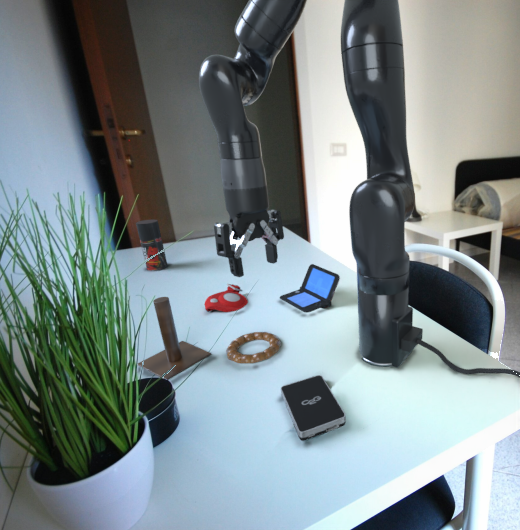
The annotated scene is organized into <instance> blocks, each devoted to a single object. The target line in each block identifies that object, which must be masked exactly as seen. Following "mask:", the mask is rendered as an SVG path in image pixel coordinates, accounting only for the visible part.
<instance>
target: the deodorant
mask: <svg viewBox="0 0 520 530" xmlns="http://www.w3.org/2000/svg"><path fill="white" fill-rule="evenodd" d="M135 226H136V229H137V233H138V238H139V242H140V246H141V250H142V255H143V258H144V261H145V260H146V259H148V258H150V257H151V256H153V255H155V254H157V253H158V252H160V251H161V250H163V249H164V250H165V248H164V244H163V239H162V235H161V233H162V232H161V229H160V225H159V221H158V219H143V220H138V221H137V222H135ZM145 266H146V270H147V271H159V270H163V269H166V268H168V261H167V256H166V252H165V251H164V252H162V253H160V254H158V255H156V256H155V257H153V258H152V259H150V260H149V261H147V262H146V263H145Z"/></svg>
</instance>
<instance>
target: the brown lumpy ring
mask: <svg viewBox="0 0 520 530" xmlns="http://www.w3.org/2000/svg"><path fill="white" fill-rule="evenodd" d="M252 341H265V342H268V343H269V346H268V347H267V348H266V349H264V350H262V351H259V352H256V353H251V354H250V353H246V354H244V353H241V352H239V349H240V347H241V346H243V345H245V344H246V343H249V342H252ZM281 346H282V342H281V340H280V338H279V337H278V336H277V335H276V334H274V333H271V332H268V331H253V332H249V333H246V334H242V335H240V336H238V337H237V338H235V339H233V340H232V341H231V342H230V344H229V345H228V346H227V348H226V350H225V352H226V356H227V359H228V360H230V361H232V362H234V363H236V364H256V363H259V362H262V361H265V360H268V359H270V358H271V357H274V355H276V354H277V353H278V352H279V350H280V349H281Z"/></svg>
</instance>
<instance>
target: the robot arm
mask: <svg viewBox="0 0 520 530" xmlns="http://www.w3.org/2000/svg"><path fill="white" fill-rule="evenodd" d="M307 2H308V0H248V1H247V3H246V5H245V7H244V8H243V10H242V12H241V13H240V15H239V17H238V19H237V21H236V23H235V26H234V29H233V30H234V32H233V33H234V36H235V38H236V40H237V42H238V43H239V45H238V48H237V51H236V53H235V56H234V57H233V58H232V57H231V56H226V55H223V54H211V55H209V56H207V57H205V59H203V61H202V63H201V64H200V67H199V71H198V86H199V87H198V88H199V92H200V96H201V99H202V101H203V104H204V106H205V108H206V111H207V115H208V116H209V120H210V122H211V124H212V126H213V129H214V132H215V133H216V141H217V147H218V155H219V162H220V178H221V183H222V185H221V186H222V190H223V198H224V203H225V209H226V212H227V214H228V217H229V218H228V221H227V222H215V223H214V224H213V231H214V239H215V246H216V255H217V256H218V257H222V258H227V259H228V264H229V270H230V273H231V275H233V277H237V278H242V277H244V275H245V273H244V266H243V259H242V257H241V255H242V253H243V250H244V248H246V247H247V246H248V243H249V242H252V241H254V240H255V239H261V240H263V241H264V243H266V244H265V245H264V248H265V249H264V250H265V256H266V262H267V263H269V264H277V263H278V257H279V254H278V246H277V245H278V243H279V241H281V240H282V241H283V240H284V238H285V234H284V233H285V232H284V228H283V219H282V214H281V210H279V209H278V210H277V209H270V204H269V202H270V201H269V194H268V193H269V192H268V185H267V177H266V176H267V175H266V168H265V165H264V161H263V153H262V145H261V136H260V132H259V128H258V127H257V125H256V124H255V123H253V122H252V121H251V120H249V118H248V117H247V113H246V109H245V107H249V106H251V105H252V104H253V103H255V102H256V101H257V100H258V99H259V98H260V96H261V95H262V94H263V92H264V91H265V88H266V86H267V83H268V81H269V78H270V76H271V74H272V70H273V68H274V64H275V61H276V58H277V56H278V55H279V53H280V52H281V51H282V49H283V48H284V46H285V44H286V43H287V41H288V40H289V38H290V37H291V35H292V34H293V32H294V30H295V29H296V28H297V25H298V24H299V21H300V20H301V17H302V16H303V13H304V10H305V8H306V5H307ZM343 2H344V3H343V10H342V16H341V25H340V53H341V54H340V55H341V63H342V64H341V65H342V71H343V72H342V73H343V82H344V89H345V92H346V96H347V99H348V102H349V105H350V108H351V111H352V113H353V116H354V119H355V121H356V124H357V127H358V130H359V131H360V135H361V137H362V141H363V146H364V152H365V163H366V164H365V165H366V179H365V180H363V181H361V182H360V183H359V184H358V185H356V187H355V188H354V189H353V191H352V193H351V196H350V200H349V209H348V210H349V212H348V213H349V216H348V217H349V229H350V242H351V243H350V244H351V253H352V256H353V258H354V260H355V262H356V283H357V284H356V286H357V287H356V289H357V290H356V291H357V320H358V322H357V323H358V324H357V325H358V347H359V350H358V351H359V354H360V355H361V357H362V358H361V360H362V361H363V362H364V363H366V364H368V365H369V366H370V365H371V366H373V367H378V368H389V367H392V368H396V369H398V368H400V367H401V365H402V364H403V363H404V362H405V361H406V360H407V358H408V357H409V356H410V354H411V353H412V352H413V350H414V349H415V348H416V347H417V346H418V345H419V346H421V347H423V348H426V349H427V350H429V351H431V352H432V353H434V354H435V355H436V356H437V357H438V358H439V359H440V360H441V361H442V362H443V364H444V365H446V366H447V367H449V368H450V369H451V370H453V371H454V372H456V373H458V374H463V375H477V374H486V375H487V374H490V375H491V374H498V375H499V374H500V375H503V374H504V375H511V376H515V377H517V378H519V379H520V376H519V375H520V371H519V370H516V369H512V368H502V367H501V368H493V367H492V368H491V367H490V368H484V367H483V368H482V367H476V368H469V369H467V368H462V367H460V366H457V365H456V364H454V363H453V362H451V360H449V359H448V357H446V355H444V353H443V352H442V351H440V350H439V349H438V348H437V347H435V346H433V345H431V344H430V343H427V342H426V341H424V340H423V332H424V331H423V328H421V327H418V326H415V325H413V317H414V315H413V314H414V313H413V312H414V308H413V306H409V305H410V304H409V303H410V301H409V300H410V299H409V298H410V264H411V263H410V262H411V261H410V259H411V258H410V254H409V253H408V252H407V251H406V243H405V241H406V238H405V237H406V236H405V235H406V233H405V222H407V221H408V220H409V219H410V217H411V216H412V214H413V212H414V209H415V204H416V194H415V187H414V180H413V176H412V175H413V174H412V168H411V163H410V157H409V150H408V140H407V100H406V99H407V98H406V78H405V77H406V72H405V71H406V69H405V55H404V53H405V51H404V40H403V31H402V29H403V28H402V20H401V11H400V2H399V0H344V1H343ZM268 225H269V226H268ZM238 239H239V240H238ZM513 371H514V372H513ZM516 373H517V374H516Z"/></svg>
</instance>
